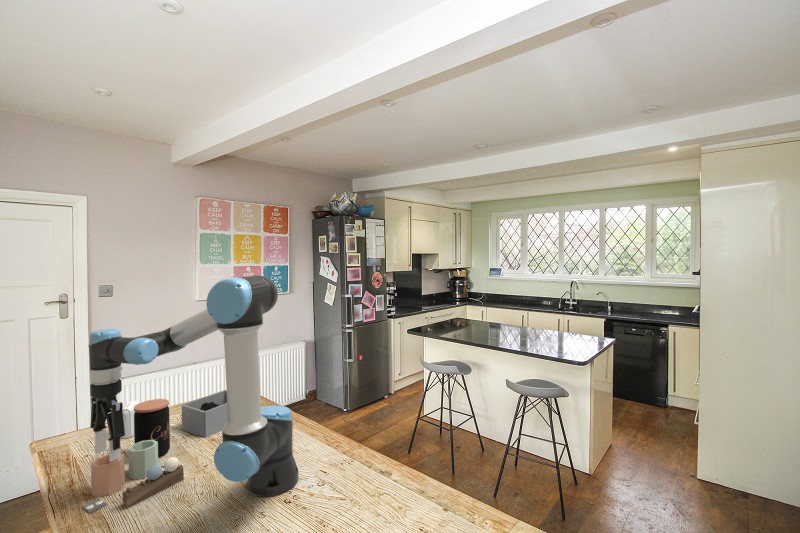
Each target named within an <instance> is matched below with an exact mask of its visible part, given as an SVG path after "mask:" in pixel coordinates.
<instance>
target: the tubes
mask: <svg viewBox="0 0 800 533" xmlns="http://www.w3.org/2000/svg"><path fill="white" fill-rule="evenodd" d="M127 450H128V454H127V455H128V478H130V479H132V480H133V481H135V480H143V479H144V480H145V479H148V478H147V471H148V469H149V468H150V467H151V466H153V465H159V458H158V442H157V441H155V440H146V441H141V442H138V443H136V444H134V443H133V444H132V445H131V446H130V447H129V448H127ZM90 478H91V480H90V481H91V484H90V485H91V495H92V496H94V497H96V498H97V499H94V500H91V501H90V502H88V503H86V504H84V505H82V506H81V508H82V509H83V510H84V511H86V512H87V511H88V513H89V514H92V513H94V512H96V511H98V510H101V509H103V508H104V507H107V506H108V503H106V502H105V501H104V500H102V499H100V497H107V496H111V495H113V494H115V493H117V492H118V491H121V490H122V488H123V487H125V484H126V481H125V479H126V478H125V455H124V454H123V453H121V458H119V459H116V460H114V461H111V462H110V461H109V453H108V454H105V455H102V456H99V457H97V458H95V459H94V460H93V461H92V462H91V464H90Z"/></svg>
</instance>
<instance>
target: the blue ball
mask: <svg viewBox="0 0 800 533" xmlns="http://www.w3.org/2000/svg"><path fill="white" fill-rule="evenodd" d="M162 473H163V467H162V466H161V465H160V464H158V465H153V466H151V467H150V468H149V469H148V471H147V478H146V479H150V480H155V479H157V478H159V477H160V476H161V474H162Z"/></svg>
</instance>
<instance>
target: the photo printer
mask: <svg viewBox="0 0 800 533" xmlns="http://www.w3.org/2000/svg"><path fill="white" fill-rule="evenodd" d="M139 403H141V402H140V401H139V400H131V401H129V402H127V403H126V404H125V405H123V408H122V412H123V421H124V430H125V436H122V437H120V439H130V438H131V437H132V436H134V413H135V411H134V406H135V405H137V404H139Z"/></svg>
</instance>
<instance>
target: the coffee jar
mask: <svg viewBox="0 0 800 533" xmlns="http://www.w3.org/2000/svg"><path fill="white" fill-rule="evenodd" d="M169 405H170V400H168V399H165V398H155V399H148V400H144V401H142V402H140V403H139V404H137V405H135V406H134V411H135V413H134V435H133V436H134V439H133V440H134V442H133V444H136V443H138V442H141V441H146V440H155V441H157V442H158V459H161V457H163V456H165V455H167V454H168V452H169V451H170V449H171V433H170V432H171V430H170V429H171V427H170V407H169Z"/></svg>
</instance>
